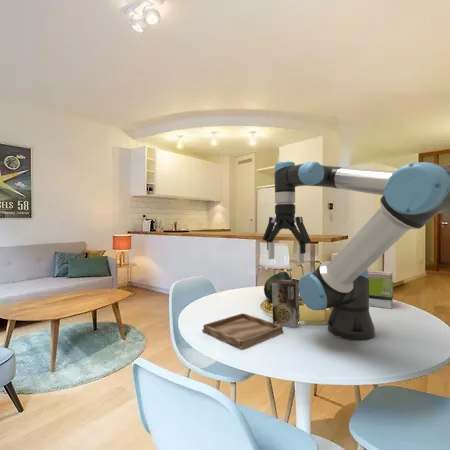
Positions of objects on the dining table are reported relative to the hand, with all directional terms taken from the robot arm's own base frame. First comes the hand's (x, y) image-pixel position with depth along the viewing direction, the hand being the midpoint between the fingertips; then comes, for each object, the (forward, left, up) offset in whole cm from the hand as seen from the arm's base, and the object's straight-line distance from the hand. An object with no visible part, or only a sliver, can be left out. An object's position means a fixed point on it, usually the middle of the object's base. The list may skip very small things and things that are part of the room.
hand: (285, 260), depth 112 cm
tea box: (-11, -50, -24) cm, 57 cm away
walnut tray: (+5, +18, -24) cm, 30 cm away
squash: (+22, -24, -24) cm, 40 cm away
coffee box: (0, 0, -24) cm, 24 cm away
